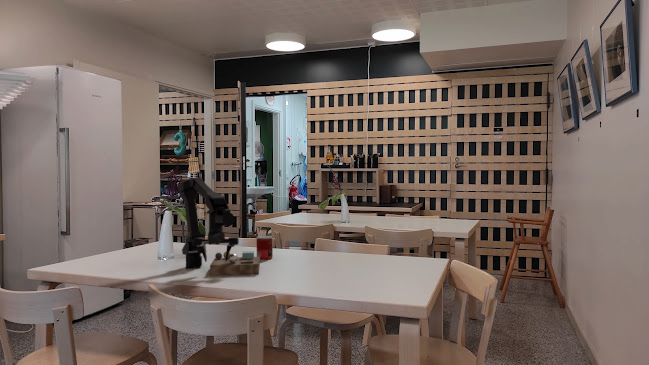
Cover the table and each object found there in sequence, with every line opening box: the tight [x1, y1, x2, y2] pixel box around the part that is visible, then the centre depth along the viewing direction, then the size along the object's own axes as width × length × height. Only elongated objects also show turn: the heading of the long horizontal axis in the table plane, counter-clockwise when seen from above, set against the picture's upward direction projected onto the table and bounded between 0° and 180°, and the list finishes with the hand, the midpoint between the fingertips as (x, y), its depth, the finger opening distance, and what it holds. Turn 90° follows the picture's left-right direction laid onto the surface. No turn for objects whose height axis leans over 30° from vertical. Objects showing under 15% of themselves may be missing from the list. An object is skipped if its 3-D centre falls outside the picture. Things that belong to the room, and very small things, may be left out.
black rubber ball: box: [214, 252, 223, 259], centre depth 207 cm, size 3×3×3 cm
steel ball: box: [228, 253, 239, 263], centre depth 198 cm, size 4×4×4 cm
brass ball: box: [222, 251, 232, 258], centre depth 209 cm, size 3×3×3 cm
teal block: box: [241, 250, 255, 259], centre depth 209 cm, size 5×5×2 cm
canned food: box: [256, 235, 273, 261], centre depth 233 cm, size 8×8×11 cm
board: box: [209, 256, 261, 277], centre depth 203 cm, size 20×18×4 cm
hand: (216, 261), depth 197 cm, fingers open, 8 cm apart
